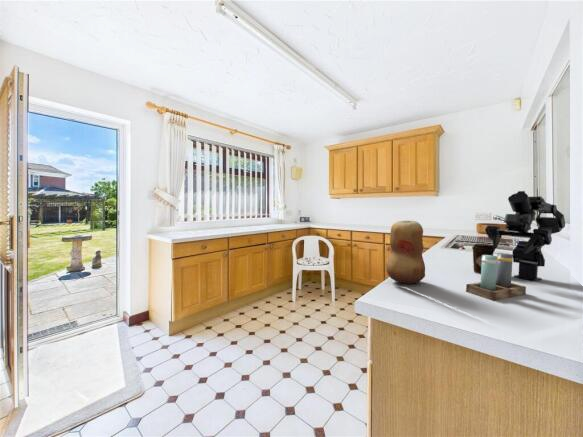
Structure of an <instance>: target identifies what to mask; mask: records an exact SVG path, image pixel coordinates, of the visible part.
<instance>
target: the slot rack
mask: <svg viewBox="0 0 583 437" xmlns="http://www.w3.org/2000/svg"><path fill="white" fill-rule="evenodd" d="M480 285H481V281H478V282H471V283H468V284H467V283H466V286H465V287H466V289H465V292H466V293H468V294H471V295H474V296H478V297H480V298H482V299H483V298H484V299H486V300H490V301H492V302H496V301H501V300H506V299H510V298H515V297H520V296H526V295H527V292H526V291H527V290H526V289H527V286H524V285H522V284H521V285H520V284H517V283H513V282H511V288H505V287H501V286H498V285H496V291H489V290H486V289H483V288H480Z"/></svg>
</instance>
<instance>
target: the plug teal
mask: <svg viewBox="0 0 583 437" xmlns="http://www.w3.org/2000/svg"><path fill="white" fill-rule="evenodd" d="M496 272H497V256H496V255H493V256H492V255H482V265H481V274H480V282H481V285H480V288H483V289H486V290H489V291H496Z"/></svg>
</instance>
